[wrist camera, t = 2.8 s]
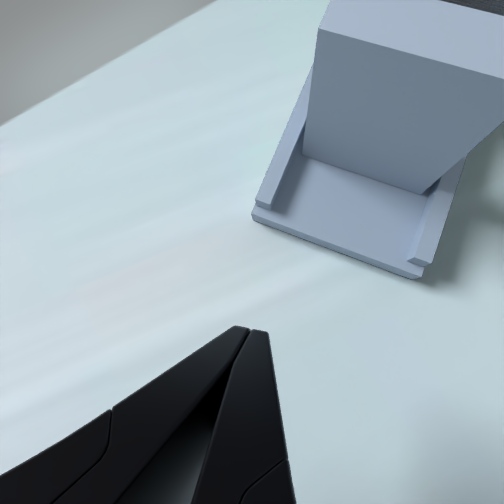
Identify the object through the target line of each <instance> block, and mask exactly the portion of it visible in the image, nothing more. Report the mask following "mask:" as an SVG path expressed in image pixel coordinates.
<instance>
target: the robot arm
mask: <svg viewBox="0 0 504 504" xmlns="http://www.w3.org/2000/svg"><path fill="white" fill-rule="evenodd" d="M0 504H296V498H295V493H294V488H293V483H292V477H291V470H290V464H289V461H288V453H287V446H286V440H285V434H284V427H283V421H282V415H281V409H280V402H279V396H278V390H277V383H276V377H275V371H274V364H273V358H272V352H271V346H270V339H269V334H268V332H266V331H261V330H256V329H253V330H250V329H249V328H246V327H241V326H233V327H231V328H230V329H228V330H227V331H225V332H224V333H222V334H221V335H219V336H218V337H216V338H215V339H213V340H212V341H210V342H209V343H207V344H206V345H204V346H203V347H201V348H200V349H198V350H197V351H195V352H194V353H192V354H191V355H189V356H188V357H186V358H185V359H183V360H182V361H180V362H179V363H177V364H176V365H174V366H173V367H171V368H170V369H168V370H167V371H165V372H164V373H162V374H161V375H160V376H158V377H157V378H155V379H154V380H152V381H151V382H149V383H148V384H146V385H145V386H143V387H142V388H140V389H139V390H137V391H136V392H134V393H133V394H131V395H130V396H128V397H127V398H125V399H124V400H122V401H121V402H119V403H118V404H116V405H115V406H113V408H112V410H110V409H109V410H107V411H106V412H104V413H103V414H101V415H100V416H98V417H97V418H95V419H94V420H92V421H91V422H89V423H88V424H86V425H84V426H83V427H81V428H80V429H78V430H77V431H75V432H73V433H72V434H70V435H69V436H67V437H66V438H64V439H63V440H61V441H59V442H57V443H56V444H54V445H52V446H51V447H49V448H47V449H45V450H44V451H42V452H40V453H39V454H37V455H35V456H34V457H32V458H30V459H28V460H27V461H25V462H23V463H21V464H20V465H18V466H16V467H14V468H13V469H11V470H9V471H7V472H5V473H4V474H2V475H0Z"/></svg>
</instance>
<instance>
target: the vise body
mask: <svg viewBox="0 0 504 504" xmlns="http://www.w3.org/2000/svg"><path fill="white" fill-rule="evenodd" d="M313 65H314V63H313ZM313 65H312V67H311V70H310V72H309V74H308V77H307V79H306V81H305V84H304V86H303V88H302V91H301V93H300V95H299V98H298V100H297V102H296V105H295V107H294V109H293V112H292V114H291V116H290V119H289V121H288V123H287V126H286V128H285V130H284V133H283V135H282V137H281V140H280V142H279V144H278V147H277V149H276V151H275V154H274V156H273V158H272V161H271V163H270V165H269V168H268V170H267V172H266V175H265V177H264V179H263V182H262V184H261V186H260V189H259V191H258V193H257V196H256V198H255V201H256V203H255V206H254V208H253V210H252V213H251V215H252V218H253V220H254V221H257V222H260V223H262V224H265V225H268V226H270V227H273V228H275V229H278V230H281V231H283V232H286V233H289V234H291V235H294V236H297V237H299V238H302V239H305V240H307V241H310V242H313V243H315V244H318V245H321V246H323V247H326V248H329V249H331V250H334V251H337V252H339V253H342V254H345V255H347V256H350V257H353V258H355V259H358V260H361V261H363V262H366V263H369V264H371V265H374V266H377V267H379V268H382V269H385V270H387V271H390V272H393V273H395V274H398V275H401V276H403V277H406V278H409V279H411V280H413V279H416V278H420V277H422V274H423V271H424V268H425V266H426V265H429V264H432V261H433V258H434V255H435V252H436V249H437V246H438V242H439V239H440V236H441V233H442V230H443V227H444V224H445V221H446V218H447V215H448V212H449V209H450V206H451V203H452V200H453V197H454V194H455V191H456V188H457V185H458V182H459V179H460V175H461V172H462V169H463V166H464V163H465V160H466V157H467V154H468V153H467V154H466V155H465V156H464V157H463V158H462V159H460V160H459V161H458V162H457V163H456V164H455V165H454V166H452V167H451V168H450V169H449V170H448V171H447V172H446V173H445V174H443V175H442V176H441V177H440V178H439V179H438V180H437V181H435V182H434V183H433V184H432V185H431V186H430V187H429V188H427V189H426V190H425V191H424V192H423V193H422V194H421V195H419V194H416V193H413V192H411V191H408V190H405V189H402V188H399V187H396V186H393V185H390V184H387V183H384V182H381V181H378V180H375V179H372V178H369V177H366V176H363V175H360V174H357V173H354V172H351V171H348V170H345V169H342V168H339V167H336V166H333V165H330V164H327V163H324V162H321V161H318V160H315V159H312V158H309V157H306V156H303V155H302V149H303V141H304V133H305V126H306V118H307V110H308V103H309V95H310V88H311V80H312V72H313Z"/></svg>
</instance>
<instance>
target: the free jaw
mask: <svg viewBox="0 0 504 504" xmlns="http://www.w3.org/2000/svg"><path fill="white" fill-rule="evenodd" d="M502 122H504V16H501V15H497V14H493V13H489V12H485V11H481V10H477V9H473V8H469V7H465V6H461V5H457V4H453V3H448V2H444V1H440V0H330V2H329V5H328V7H327V9H326V12H325V14H324V16H323V18H322V21H321V23H320V25H319V28H318V34H317V42H316V49H315V57H314V65H313V72H312V80H311V88H310V95H309V103H308V110H307V118H306V126H305V133H304V141H303V149H302V155H303V156H306V157H309V158H312V159H315V160H318V161H321V162H324V163H327V164H330V165H333V166H336V167H339V168H342V169H345V170H348V171H351V172H354V173H357V174H360V175H363V176H366V177H369V178H372V179H375V180H378V181H381V182H384V183H387V184H390V185H393V186H396V187H399V188H402V189H405V190H408V191H411V192H413V193H416V194H419V195H421V194H422V193H423V192H424V191H425V190H426V189H427V188H429V187H430V186H431V185H432V184H433V183H434V182H435V181H437V180H438V179H439V178H440V177H441V176H442V175H443V174H445V173H446V172H447V171H448V170H449V169H450V168H451V167H452V166H454V165H455V164H456V163H457V162H458V161H459V160H460V159H462V158H463V157H464V156H465V155H466V154H467V153H468V152H470V151H471V150H472V149H473V148H474V147H475V146H476V145H477V144H479V143H480V142H481V141H482V140H483V139H484V138H485V137H487V136H488V135H489V134H490V133H491V132H492V131H493V130H495V129H496V128H497V127H498V126H499V125H500V124H501V123H502Z"/></svg>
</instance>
